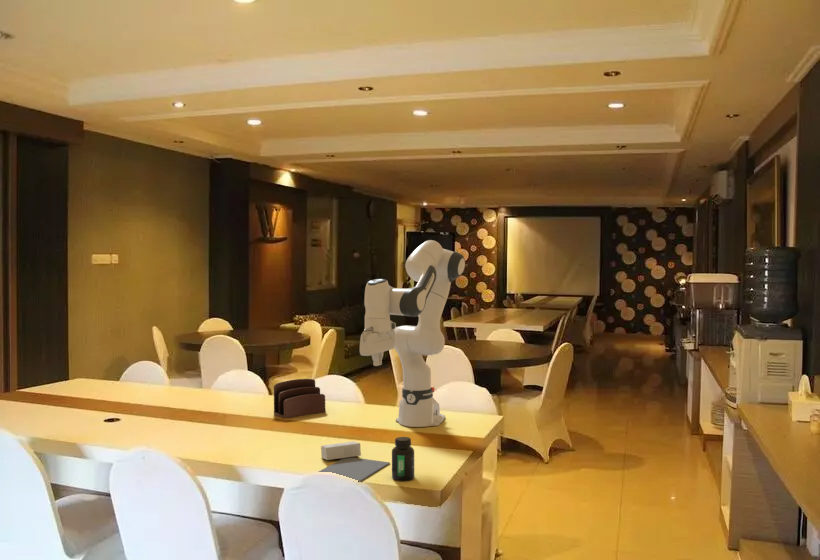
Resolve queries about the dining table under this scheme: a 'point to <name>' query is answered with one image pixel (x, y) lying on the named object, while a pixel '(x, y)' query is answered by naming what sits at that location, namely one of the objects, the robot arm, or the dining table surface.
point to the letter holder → (298, 398)
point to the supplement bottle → (402, 460)
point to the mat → (356, 467)
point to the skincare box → (340, 450)
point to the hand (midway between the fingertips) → (377, 365)
